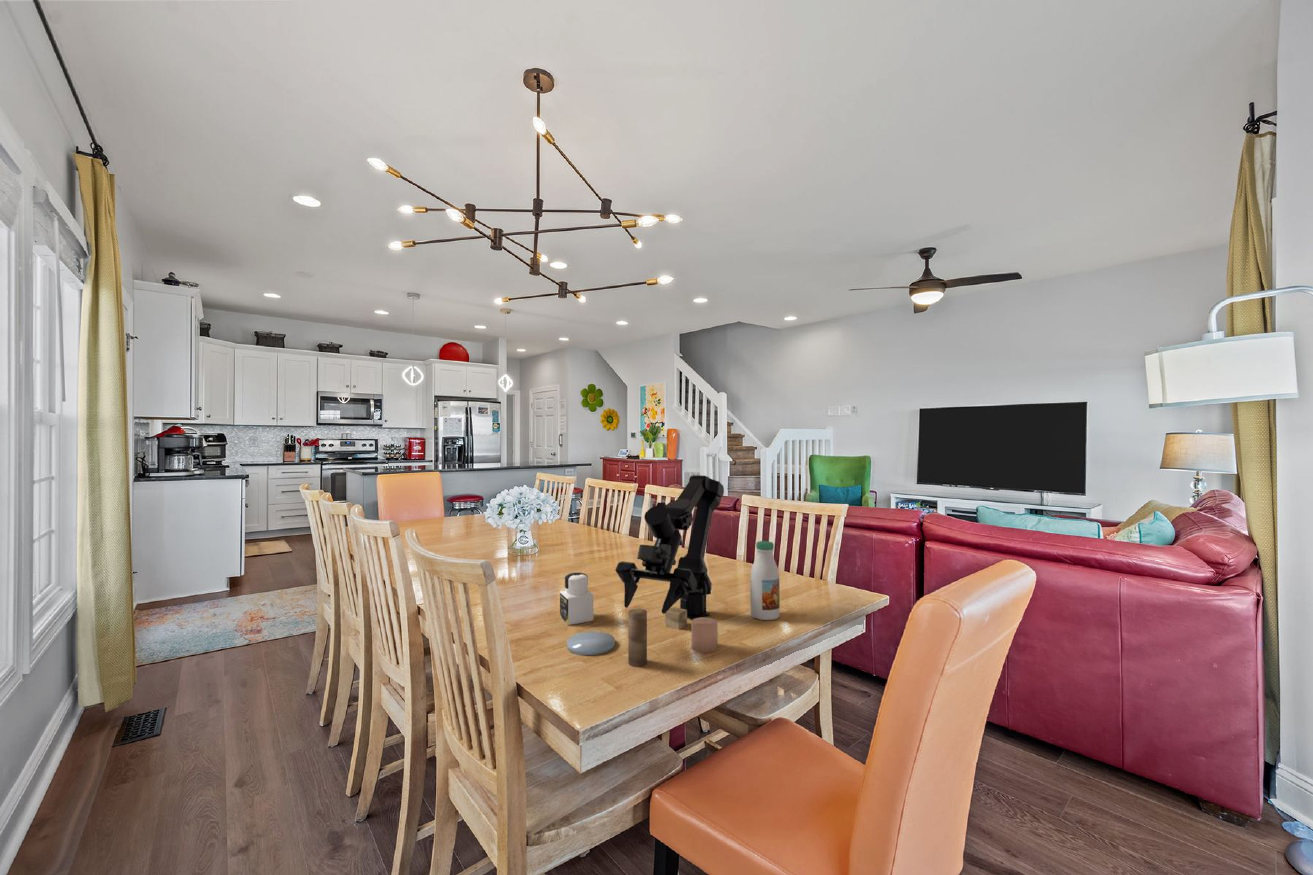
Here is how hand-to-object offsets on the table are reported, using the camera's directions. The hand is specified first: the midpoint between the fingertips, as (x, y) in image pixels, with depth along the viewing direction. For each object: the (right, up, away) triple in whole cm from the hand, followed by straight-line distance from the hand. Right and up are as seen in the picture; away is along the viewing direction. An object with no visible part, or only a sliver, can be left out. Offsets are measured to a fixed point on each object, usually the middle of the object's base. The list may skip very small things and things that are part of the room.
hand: (643, 609), depth 116 cm
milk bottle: (+32, -10, +26) cm, 43 cm away
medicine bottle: (-19, -11, +24) cm, 32 cm away
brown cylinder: (-1, -10, -3) cm, 11 cm away
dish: (-12, -10, +6) cm, 18 cm away
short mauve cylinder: (+14, -10, +5) cm, 18 cm away
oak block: (+8, -10, +19) cm, 23 cm away
